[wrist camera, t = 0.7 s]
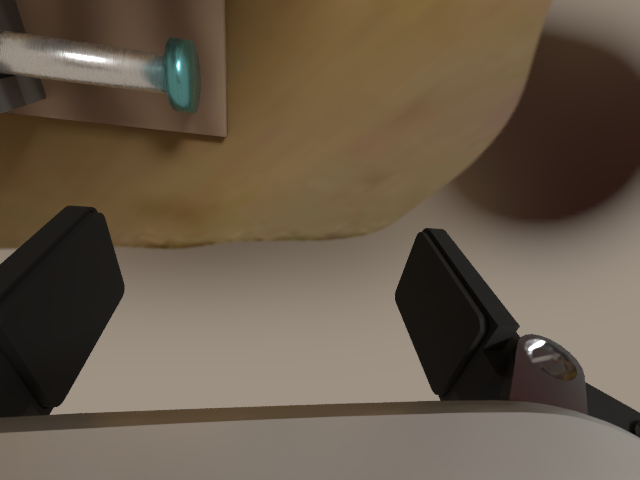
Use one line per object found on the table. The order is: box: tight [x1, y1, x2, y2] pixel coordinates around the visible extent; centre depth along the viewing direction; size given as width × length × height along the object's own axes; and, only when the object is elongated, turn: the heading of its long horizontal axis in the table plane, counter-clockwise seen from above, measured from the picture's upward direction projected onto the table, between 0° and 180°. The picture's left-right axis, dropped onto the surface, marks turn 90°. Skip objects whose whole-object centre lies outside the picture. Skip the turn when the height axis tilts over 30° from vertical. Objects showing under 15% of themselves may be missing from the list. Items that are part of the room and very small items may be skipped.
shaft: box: [0, 30, 201, 113], centre depth 19 cm, size 21×4×4 cm, turn 82°
